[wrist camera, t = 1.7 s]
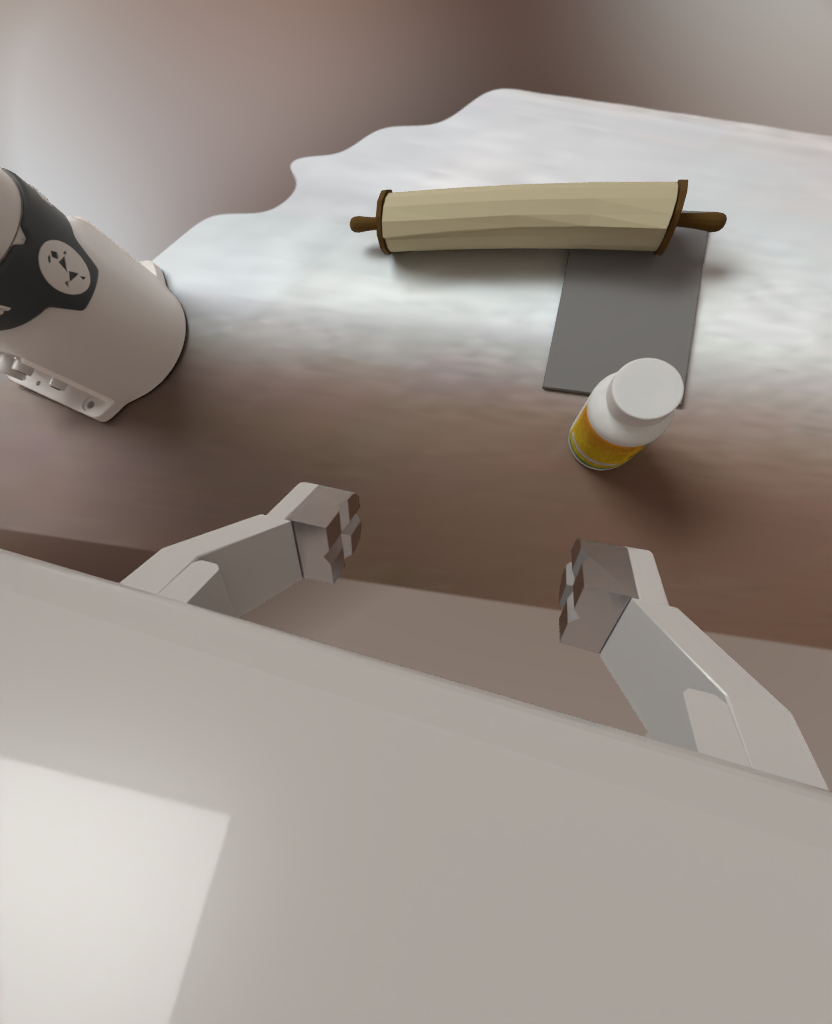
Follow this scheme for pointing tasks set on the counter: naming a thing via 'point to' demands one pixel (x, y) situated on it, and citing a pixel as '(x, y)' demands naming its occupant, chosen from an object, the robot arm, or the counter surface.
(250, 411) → the counter surface
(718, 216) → the rolling pin
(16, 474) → the counter surface
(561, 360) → the mat
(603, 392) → the supplement bottle
